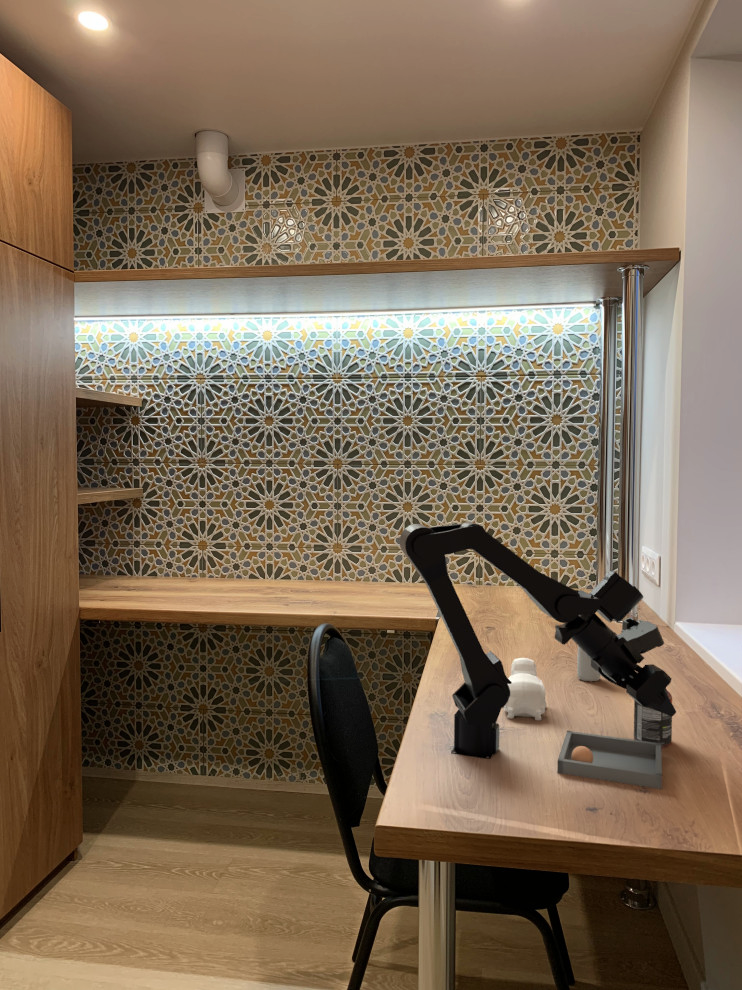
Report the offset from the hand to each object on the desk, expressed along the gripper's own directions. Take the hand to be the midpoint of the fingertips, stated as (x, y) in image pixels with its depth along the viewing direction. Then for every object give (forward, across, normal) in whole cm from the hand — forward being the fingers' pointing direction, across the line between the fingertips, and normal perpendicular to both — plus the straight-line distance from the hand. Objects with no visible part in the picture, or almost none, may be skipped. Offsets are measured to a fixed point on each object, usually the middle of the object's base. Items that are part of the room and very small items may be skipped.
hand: (661, 705), depth 122 cm
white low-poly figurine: (-8, +18, +18) cm, 26 cm away
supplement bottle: (+4, 0, +6) cm, 7 cm away
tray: (-4, -8, +13) cm, 16 cm away
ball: (-8, -9, +16) cm, 20 cm away
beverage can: (+6, +35, +4) cm, 36 cm away
